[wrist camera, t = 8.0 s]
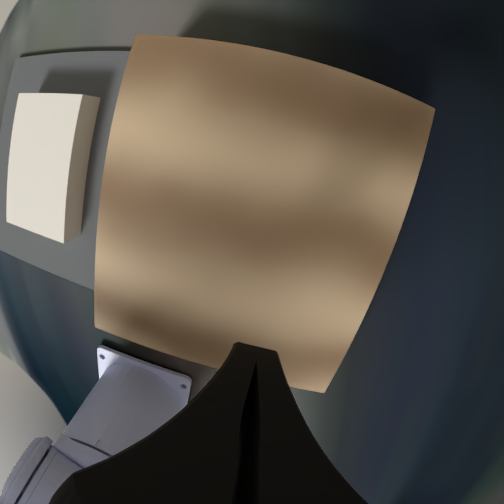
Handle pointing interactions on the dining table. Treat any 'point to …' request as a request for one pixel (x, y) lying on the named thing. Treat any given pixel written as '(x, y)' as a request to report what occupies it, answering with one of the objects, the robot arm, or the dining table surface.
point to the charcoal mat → (107, 88)
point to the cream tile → (50, 162)
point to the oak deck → (250, 202)
